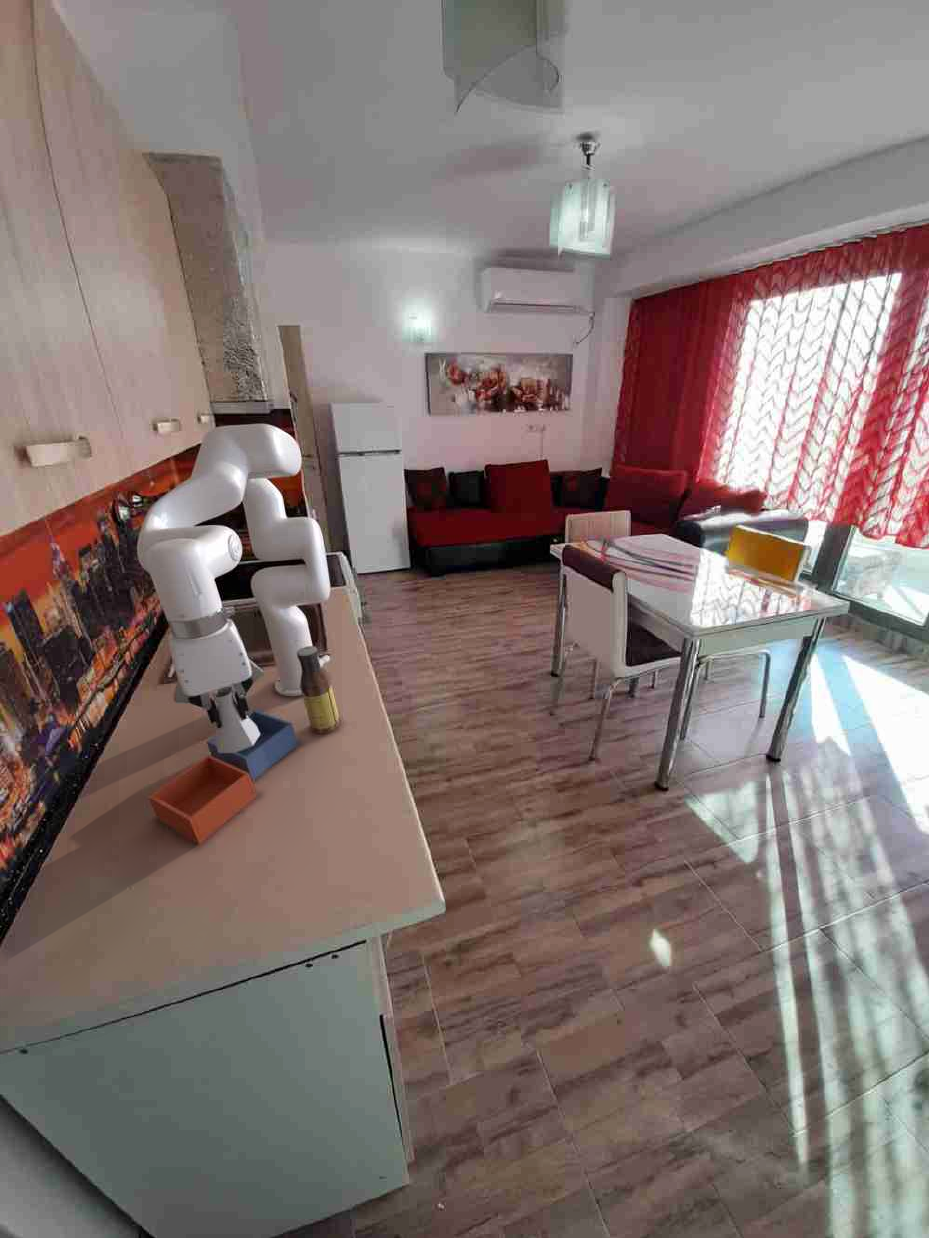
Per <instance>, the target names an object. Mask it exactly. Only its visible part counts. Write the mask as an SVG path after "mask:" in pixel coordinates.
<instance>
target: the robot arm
mask: <svg viewBox="0 0 929 1238" xmlns="http://www.w3.org/2000/svg"><path fill="white" fill-rule="evenodd" d="M301 453H302V452H301V449H300V447H299V445H298V443H297V441H296V440H295V438H294V437H293V436H292V435H290V434H289V433H287V432H285V431H284V430H283V429H281V428H279V427H277V426H274V425H271V424H268V423H250V424H237V425H236V424H235V425H234V424H232V425H221V426H216V427H213V428H211V429H210V430H208V431H207V432H206V433H205V435H204V436H203V438H202V441H201V444H200V447H199V451H198V453H197V456H196V460H195V464H194V466H193V469H192V472H191V476H190V477H189V478H187V479H186V480H184V481H183V482H181V483H180V484H178V485H177V486H175V487H174V488H173V489H171V490H170V491H168V492H167V493H166V494H164V495H163V496H162V497H160V498H159V499H158V500H157V501H156V502H155V503H153V504H152V506H151V507H150V508H149V510H148V511H147V513H146V514H145V517H144V520H143V523H142V526H141V528H140V531H139V534H138V539H137V543H136V552H137V559H138V562H139V564H140V566H141V567H142V569H143V570H144V571H145V572H146V573H147V574H149V575H150V577H151V580H152V583H153V587H154V589H155V591H156V594H157V597H158V600H159V602H160V605H161V607H162V610H163V613H164V615H165V618H166V621H167V624H168V626H169V629H170V633H169V634H168V636H167V640H168V648H169V652H170V657H171V660H172V664H173V667H174V671H175V674H176V677H177V682H176V685H175V689H174V692H173V694H172V695H173V696H172V697H173V702H175V703H180V704H181V703H182V704H190V705H193V706H196V707H200V708H202V709H203V710H204V711H206V713H207V717H208V718H209V721H210V724H214V723H215V724H216V728H217V727H218V729H219V728H221V727H222V723H221V720H220V717H219V714H218V707H217V703H216V700H214V699H213V698H211V696H210V693H212V692H214V691H215V690H217V689H221V688H224V687H231V686H233V688H234V693H233V696H234V699H235V702H236V703H237V705H238V707H239V710H240V713H241V717H242V719H244V720H245V719H247V717H246V715H247V714H246V712H248V711H250V708H249V705H248V702H247V698H246V697H247V693H248V692H249V690H250V689H251V687H252V686H253V684H254V683H255V682H256V681H258V680H259V679H260V678H261V677H263V675H264V671H263V668H262V667H260V666H258V665H257V664H256V663H255V662H254V661H252V659H250V658H249V656H248V653H247V651H246V648H245V645H244V643H243V640H242V637H241V635H240V633H239V629H237V626H236V625H235V623H234V621H233V620H232V619H231V618H229V617H231V616H233V615H236V610H235V607H234V605H231V606H227V605H226V606H225V604H223V603H222V600H221V597H220V593H219V590H218V587H217V583H216V581H215V579H216V578H218V577H221V576H222V575H225V574H227V573H229V572H231V571H233V569H235V568H236V567H237V566H238V564H240V561H241V558H242V556H243V545H242V541H241V539H240V537H239V535H238V534H237V533H236V532H235V530H234V529H232V528H230V527H228V526H226V525H220V524H219V525H218V524H210V525H209V524H208V525H199V524H201V523H203V522H206V521H209V520H212V519H214V518H217V517H219V516H222V515H224V514H226V513H228V512H230V511H232V510H234V509H235V508H237V507H238V506H239V505H241V503H242V504H243V505H242V506H243V509H244V515H245V520H246V525H247V530H248V535H249V536H248V537H249V542H250V546H251V550H252V553H253V555H254V557H255V558H256V559H258V560H260V561H261V562H262V561H263V562H276V561H277V562H279V561H291V560H292V561H293V560H302V561H304V563H305V564H294V565H279V566H270V567H265V568H262V569H259V570H258V571H256V572H255V573H254V574H253V576H252V577H251V579H250V587H251V588H250V589H251V591H252V593H251V594H252V596H253V598H254V600H255V602H256V604H257V606H258V608H259V610H260V612H261V615H262V618H263V621H264V624H265V628H266V632H267V635H268V640H269V644H270V647H271V652H272V655H273V660H274V663H275V667H276V670H277V674H278V678H277V679H276V681H275V682H274V689H275V691H276V693H277V694H279V695H281V696H285V697H298V696H302V692H301V688H300V683H301V675H302V670H301V664H300V660H299V659H298V656H297V652H298V650H299V649H301V648H304V647H307V646H313V642H312V637H311V632H310V628H309V623H308V620H307V617H306V615H305V613H304V612H303V611H302V610H301V609H300V608H299V607H298V606H304V605H306V606H307V605H316V604H322V603H325V602H326V601H328V600H329V598H330V595H331V582H330V574H329V568H328V561H327V560H328V559H327V554H326V547H325V541H324V536H323V532H322V529H321V526H320V525H319V523H318V521H317V520H315V519H314V518H313V517H309V516H298V517H297V516H296V517H288V516H287V514H286V509H285V503H284V498H283V495H282V493H281V492H280V490H279V489H278V488H277V487H276V486H275V485H274V483H272V482H271V481H270V480H269V479H275V478H288V477H295V476H296V475H297V474H298V473H299V472H300V471H301V468H302V463H303V461H302V460H303V459H302V454H301ZM318 659H319V663H320V667H321V668H323V665H325V664H327V663H329V662H330V661H331V657H330V656H329V655H328V654H325V655H323V656H322V657H319V656H318Z"/></svg>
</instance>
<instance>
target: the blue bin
mask: <svg viewBox="0 0 929 1238" xmlns="http://www.w3.org/2000/svg"><path fill="white" fill-rule="evenodd" d="M246 715H247V716H248V717H249V718H250V719H251V720H252V721H253V722H254V723H255V725H256V726H257V728H258V730H259V732H260V736H259V737H258V739H257V740H256V742H255V743H254V745H253V746H251V747H248V748H246V749H243V750H241V751H238V752H236V753H218V750H217V747H216V744H215V743H216V735H214V736H213V737H211V738H210V739H209V740H207V741H206V745H207V747H208V750H209V752H210V756H212V757H215V758H217V759H219V760H221V761H223V762H226V763H228V764H230V765H232V766H234V767H236V768H239V769H241V770H243V771H245V772H247V773H249V774H250V777H251V780H252V782H254V780H256V779H257V778H258V777H259V776H261V775H262V774H264V773H265V772H266V771H268V769H269V768H271V767H272V766H273V765H275V764H276V763H277V762H278V761H279V760H281V759H282V758H283V757H284V756H286V755H287V754H288V753H289V752H290V751H292V750H293V749H294V748H296V747H297V746H298V744H299V743H298V741H297V737H296V733H295V729H294V725H293V723H292V722H290V721H287V720H285V719H281V718H278V717H275V716H273V715H271V714H267V713H265V712H262V711H260V710H257V709H253V710H252V711H250V712H249V713H247V714H246Z"/></svg>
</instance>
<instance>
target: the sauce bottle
mask: <svg viewBox="0 0 929 1238" xmlns="http://www.w3.org/2000/svg"><path fill="white" fill-rule="evenodd" d="M297 656H298V659H299V660H300V664H301V670H302V675H301V683H300V688H301V692H302V695H301V696H302V699H303V704H304V706H305V710H306V714H307V717H308V722H309V724H310V727H311V728H312V730H313V731H314V732H315V733H318V734H327V733H328V734H329V733H330V732H332V731H334V730H335V729H337V728H338V726H339V724H340V717H339V711H338V708H337V703H336V699H335V695H334V690H333V688H332V683H331V681H330V676H329V674H328V672H327V671H326V669H324V668H323V667H322V668H321V667H320V663H319V659H320V658H319V659H318V657H319V651H318V648H317V647H316V646H313V645H312V646H307V647H304V648H301V649H299V650H298V652H297Z"/></svg>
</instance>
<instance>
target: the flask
mask: <svg viewBox="0 0 929 1238" xmlns="http://www.w3.org/2000/svg"><path fill="white" fill-rule="evenodd" d="M211 696H212V699H213V701H215V703H216V707H217V710H218V714H219V717H220V720H221V723H222V727H221V728H219V729H218V727H217V726H216V734H215V736H216V743H215V744H216V747H217V750H218V753H236V752H238V751H241V750H243V749H246V748H248V747H251V746H253V745H254V743H255V742H256V740H257V739H258V737H259V736H260V732H259V730H258V728H257V726H256V725H255V723H254V722H253V721H252V720H251V719H250V718H249V717H248V716H247V714H246V717H247V719H245V720H244V719H242V717H241V713H240V710H239V707H238V704H237V701H236V699H235V697H234V690H233V688H232V686H227V687H224V688H221V689H217V690H214V691H212V694H211Z"/></svg>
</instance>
